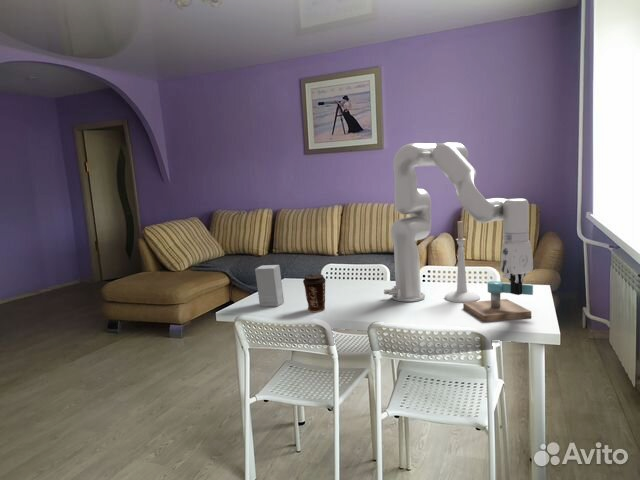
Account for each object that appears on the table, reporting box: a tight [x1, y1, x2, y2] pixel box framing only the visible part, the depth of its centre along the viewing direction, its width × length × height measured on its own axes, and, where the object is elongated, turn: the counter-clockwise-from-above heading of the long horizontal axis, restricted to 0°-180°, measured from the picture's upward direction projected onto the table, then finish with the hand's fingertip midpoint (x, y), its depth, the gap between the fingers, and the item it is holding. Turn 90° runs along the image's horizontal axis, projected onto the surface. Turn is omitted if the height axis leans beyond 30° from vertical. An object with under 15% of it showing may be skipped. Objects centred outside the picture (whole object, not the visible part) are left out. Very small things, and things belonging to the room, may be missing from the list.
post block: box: [462, 293, 532, 323], centre depth 156 cm, size 16×16×7 cm
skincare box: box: [254, 264, 285, 307], centre depth 184 cm, size 8×7×16 cm
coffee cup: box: [302, 273, 326, 313], centre depth 172 cm, size 9×8×13 cm
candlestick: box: [444, 220, 481, 304], centre depth 175 cm, size 13×13×30 cm
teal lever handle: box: [487, 280, 534, 296], centre depth 152 cm, size 14×5×3 cm, turn 57°
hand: (516, 293), depth 149 cm, fingers closed
